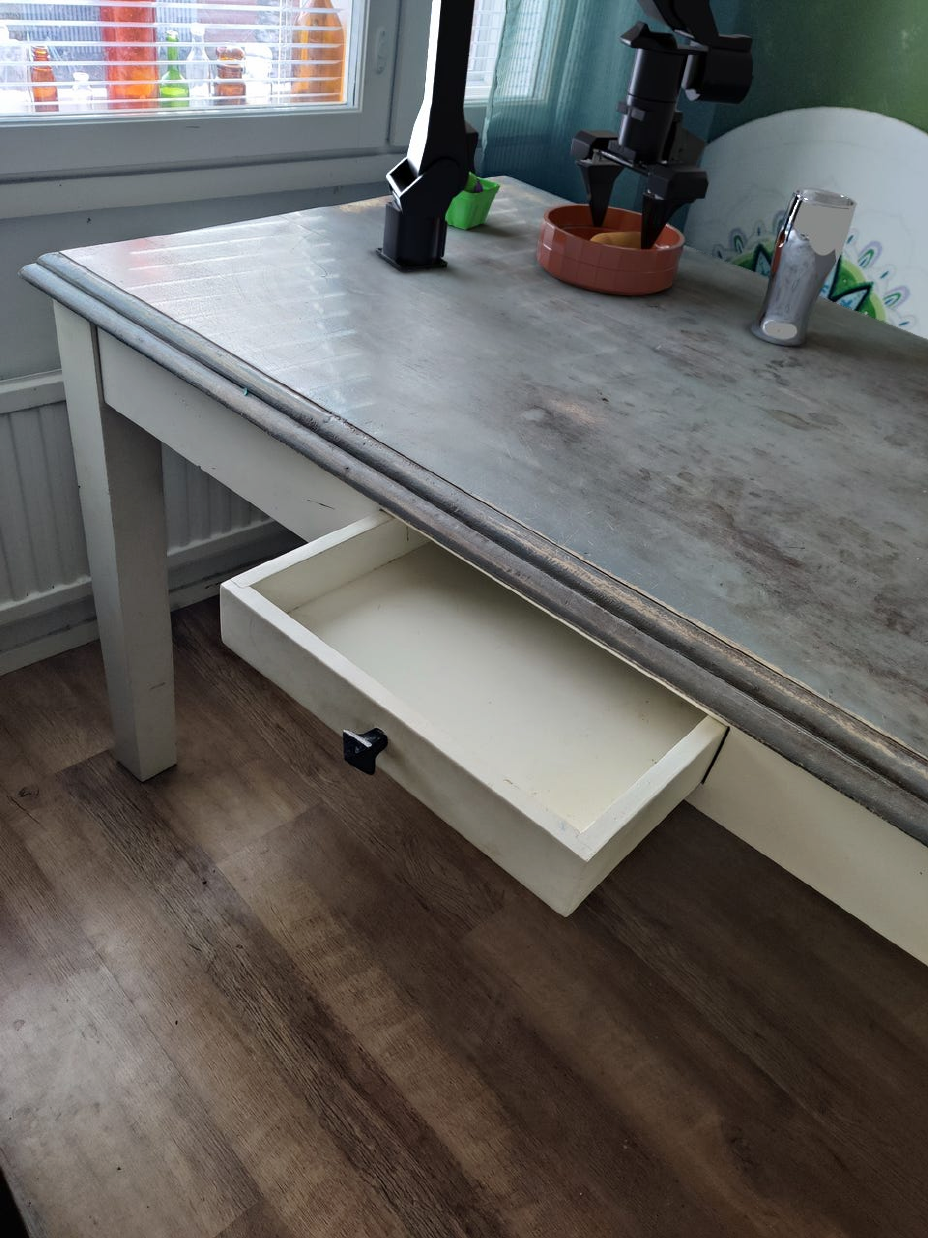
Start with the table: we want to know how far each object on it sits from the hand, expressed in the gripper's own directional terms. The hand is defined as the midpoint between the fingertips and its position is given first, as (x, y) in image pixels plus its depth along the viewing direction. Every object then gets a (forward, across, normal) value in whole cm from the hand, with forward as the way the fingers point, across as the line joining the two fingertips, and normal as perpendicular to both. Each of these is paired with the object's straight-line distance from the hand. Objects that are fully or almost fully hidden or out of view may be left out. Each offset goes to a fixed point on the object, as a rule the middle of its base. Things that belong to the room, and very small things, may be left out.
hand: (620, 238), depth 116 cm
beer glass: (+4, -22, -6) cm, 23 cm away
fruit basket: (+4, +22, +12) cm, 25 cm away
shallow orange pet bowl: (+4, 0, +2) cm, 4 cm away
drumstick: (+3, 0, +2) cm, 4 cm away
